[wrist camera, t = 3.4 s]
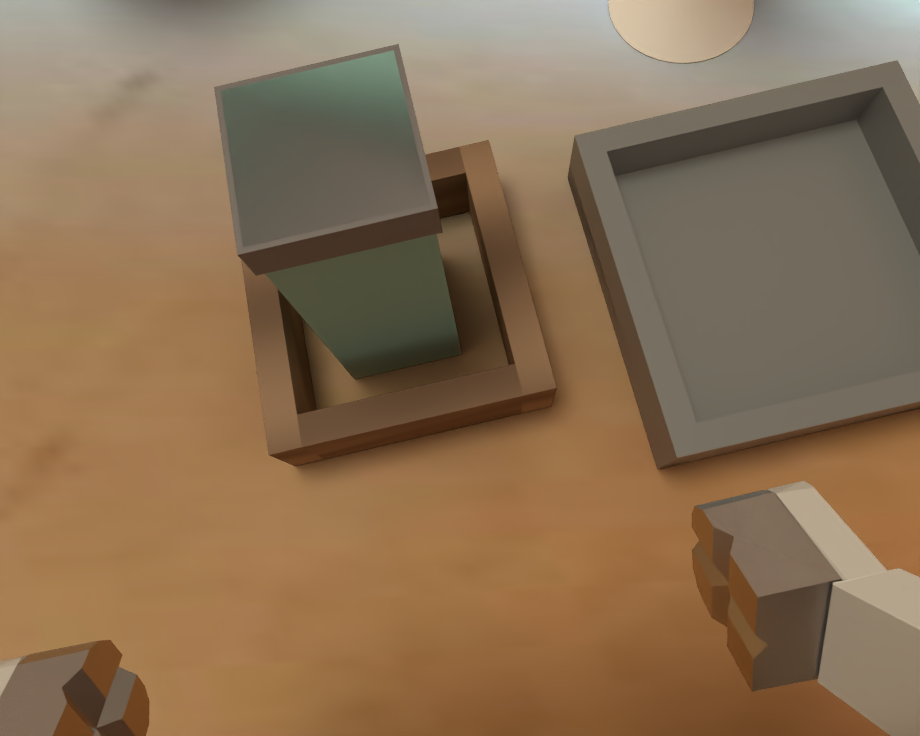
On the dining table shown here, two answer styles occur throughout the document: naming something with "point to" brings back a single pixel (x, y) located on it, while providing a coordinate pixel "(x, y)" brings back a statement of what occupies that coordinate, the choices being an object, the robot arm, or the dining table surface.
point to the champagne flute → (682, 26)
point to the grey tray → (761, 260)
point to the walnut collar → (424, 407)
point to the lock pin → (341, 207)
